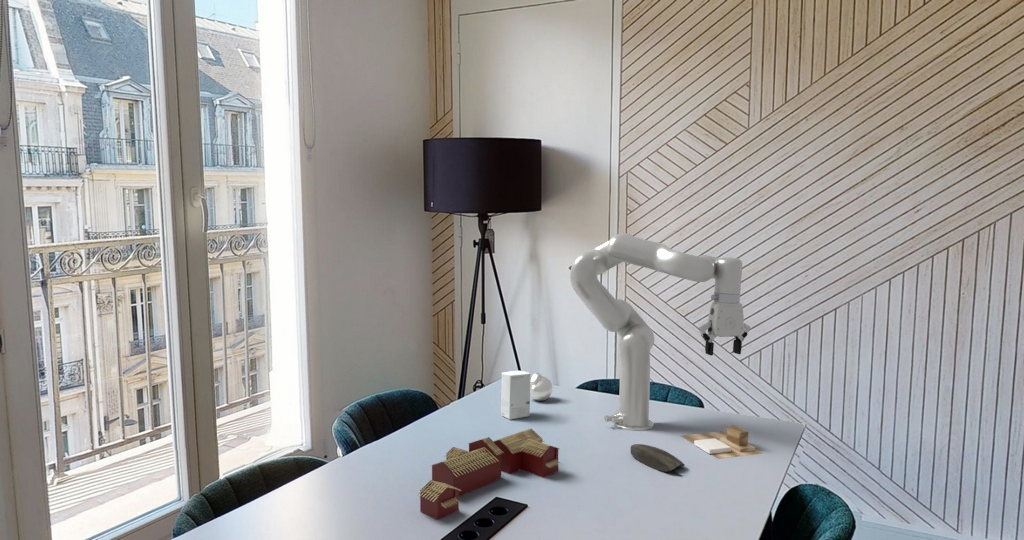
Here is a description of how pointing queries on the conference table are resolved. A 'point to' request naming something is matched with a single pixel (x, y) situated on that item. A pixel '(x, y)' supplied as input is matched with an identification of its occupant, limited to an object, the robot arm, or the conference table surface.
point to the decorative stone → (655, 457)
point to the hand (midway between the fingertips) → (723, 353)
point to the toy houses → (484, 469)
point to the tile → (712, 446)
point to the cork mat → (717, 436)
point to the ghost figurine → (540, 387)
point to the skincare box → (515, 394)
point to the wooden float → (737, 439)
